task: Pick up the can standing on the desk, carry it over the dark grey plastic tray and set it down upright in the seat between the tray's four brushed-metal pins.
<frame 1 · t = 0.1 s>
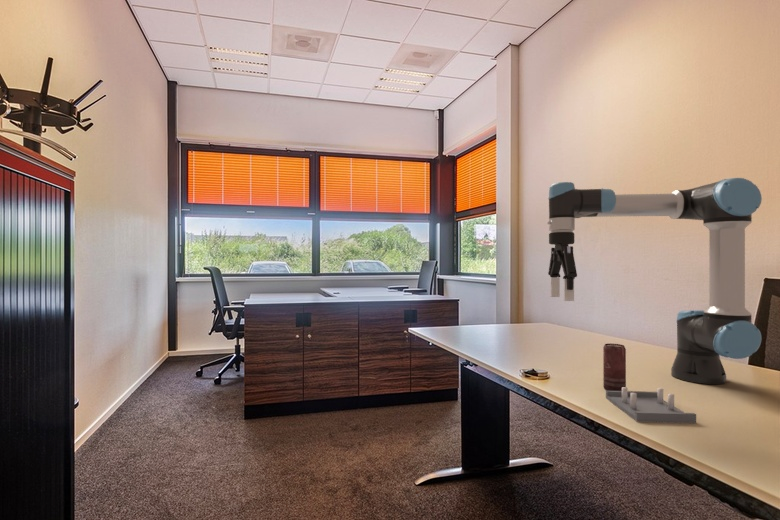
hand: (561, 298, 134), 28 cm above the table, fingers open, 13 cm apart
tray: (647, 409, 113), on the table
can: (614, 390, 130), on the table
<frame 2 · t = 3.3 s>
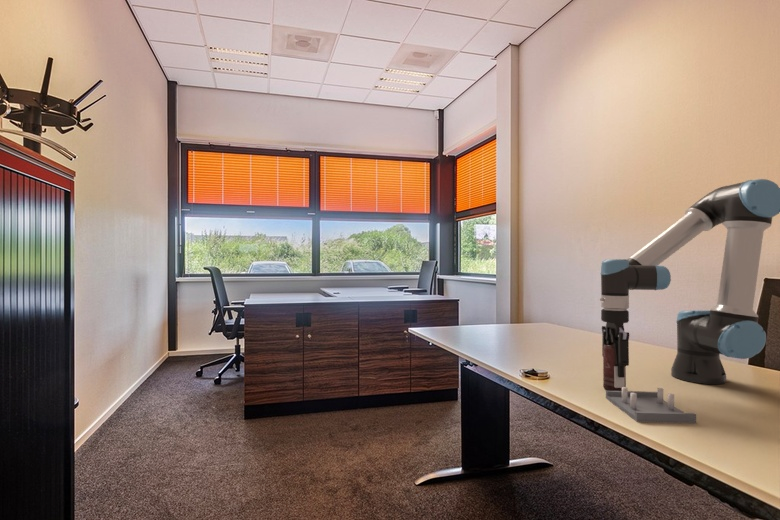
hand: (615, 384, 130), 2 cm above the table, fingers open, 5 cm apart
can: (614, 390, 130), on the table, touching gripper
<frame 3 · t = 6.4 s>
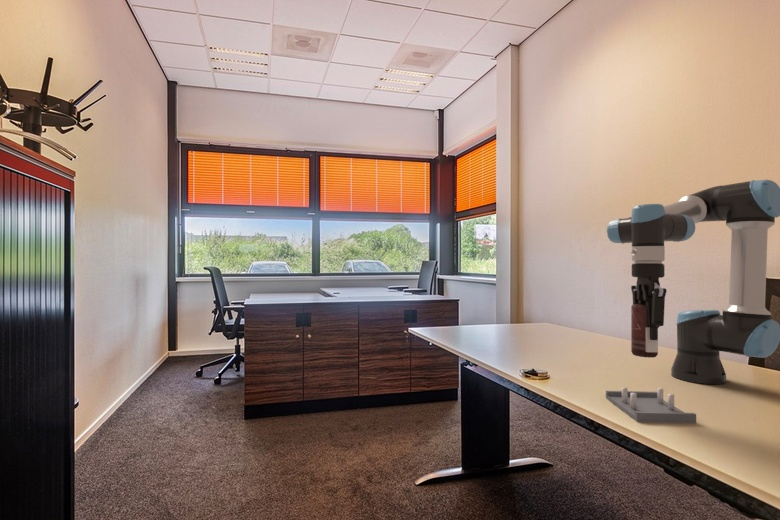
hand: (647, 350, 113), 16 cm above the table
can: (644, 356, 114), point 14 cm above the table, touching gripper, hand
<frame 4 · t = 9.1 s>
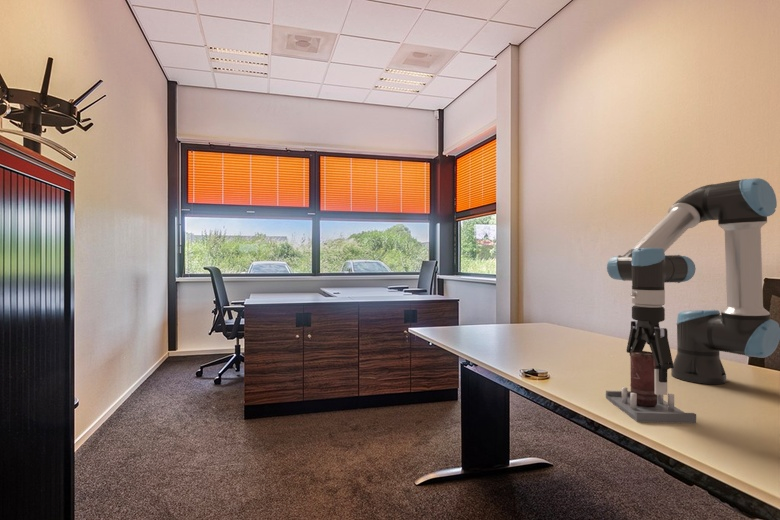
hand: (648, 387, 113), 6 cm above the table, fingers open, 11 cm apart
can: (644, 404, 115), point 1 cm above the table, touching tray
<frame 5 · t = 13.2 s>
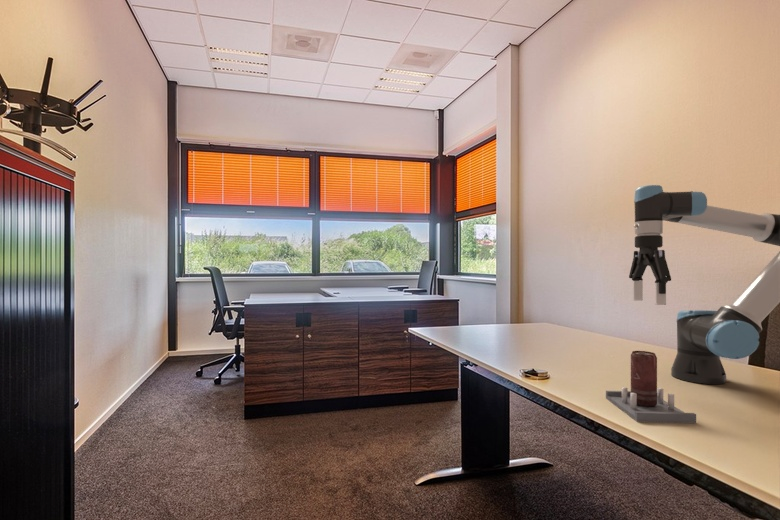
hand: (648, 302, 133), 27 cm above the table, fingers open, 13 cm apart
nothing on the table moved.
at the end: can inside the target area on the tray (1.4 cm from its centre), point 0.8 cm above the tray's base; can touching tray; can tilted 0° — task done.
